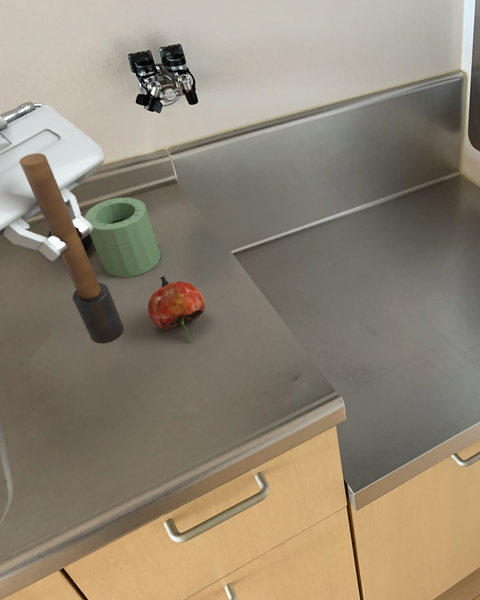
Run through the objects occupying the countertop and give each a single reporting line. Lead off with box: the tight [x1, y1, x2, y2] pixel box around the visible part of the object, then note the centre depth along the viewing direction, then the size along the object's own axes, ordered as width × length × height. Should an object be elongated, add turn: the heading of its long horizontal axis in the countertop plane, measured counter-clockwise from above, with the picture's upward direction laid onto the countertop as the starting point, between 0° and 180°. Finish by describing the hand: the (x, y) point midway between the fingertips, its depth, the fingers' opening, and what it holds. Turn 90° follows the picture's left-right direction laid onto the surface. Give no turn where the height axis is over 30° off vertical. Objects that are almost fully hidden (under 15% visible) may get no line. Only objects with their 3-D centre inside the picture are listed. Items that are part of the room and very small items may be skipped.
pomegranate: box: [147, 275, 206, 343], centre depth 84 cm, size 7×7×10 cm
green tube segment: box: [84, 197, 161, 278], centre depth 95 cm, size 9×9×9 cm
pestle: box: [20, 153, 125, 344], centre depth 62 cm, size 4×4×22 cm
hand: (73, 244), depth 61 cm, fingers closed on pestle, 2 cm apart
